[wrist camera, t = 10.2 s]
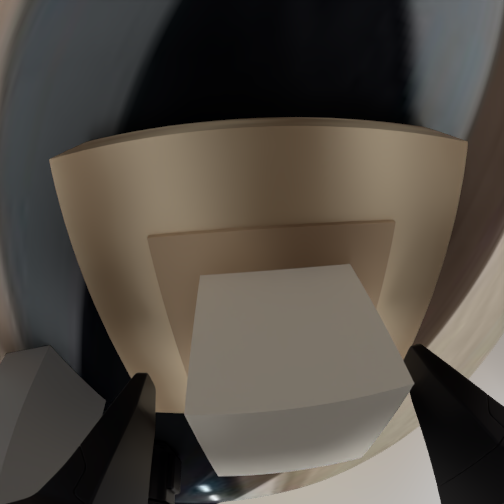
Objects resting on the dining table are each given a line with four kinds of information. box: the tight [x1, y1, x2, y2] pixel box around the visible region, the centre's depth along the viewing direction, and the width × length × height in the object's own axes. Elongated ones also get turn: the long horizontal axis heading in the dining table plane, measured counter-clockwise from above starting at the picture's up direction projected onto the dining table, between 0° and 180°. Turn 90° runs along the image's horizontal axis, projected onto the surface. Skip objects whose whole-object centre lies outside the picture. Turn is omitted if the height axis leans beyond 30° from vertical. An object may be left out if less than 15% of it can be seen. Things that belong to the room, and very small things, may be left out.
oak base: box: [49, 117, 468, 413], centre depth 12 cm, size 14×14×3 cm
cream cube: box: [184, 264, 414, 476], centre depth 9 cm, size 5×5×5 cm
